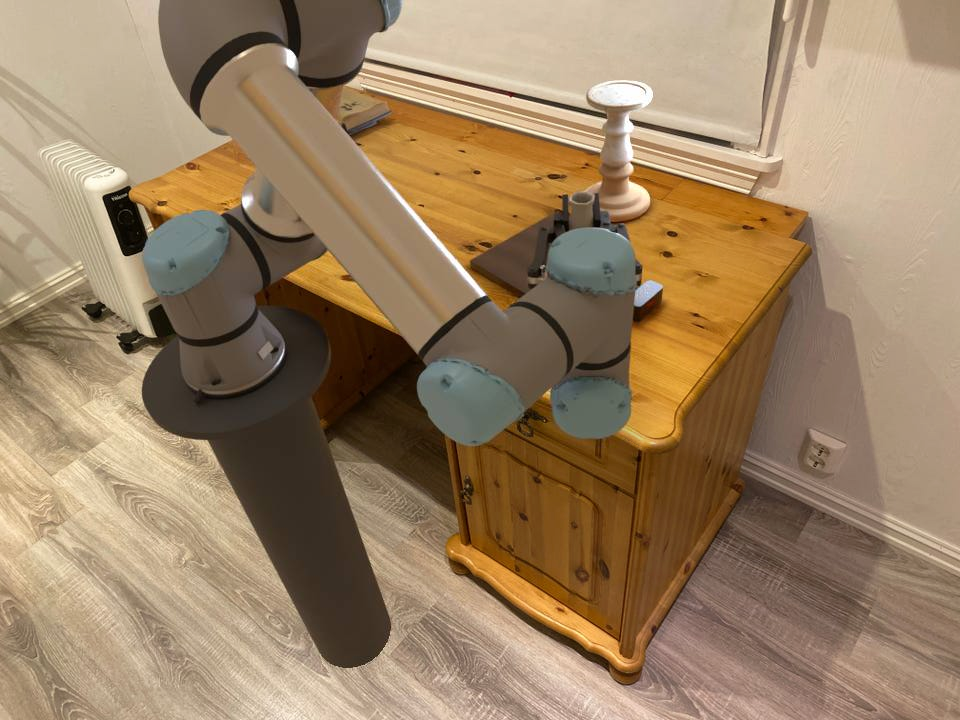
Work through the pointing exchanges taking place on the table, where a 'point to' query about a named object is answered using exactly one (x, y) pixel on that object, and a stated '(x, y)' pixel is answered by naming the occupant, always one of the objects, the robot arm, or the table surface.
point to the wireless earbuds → (646, 299)
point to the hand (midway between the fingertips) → (580, 203)
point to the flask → (581, 210)
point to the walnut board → (512, 258)
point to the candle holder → (619, 148)
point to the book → (359, 110)
